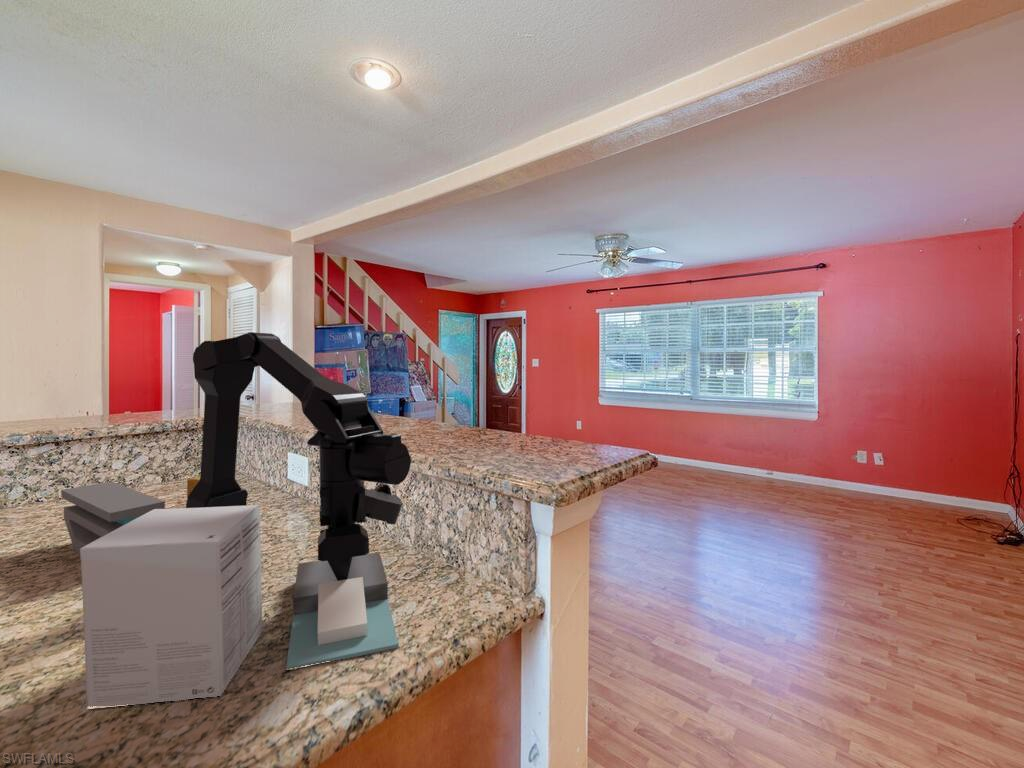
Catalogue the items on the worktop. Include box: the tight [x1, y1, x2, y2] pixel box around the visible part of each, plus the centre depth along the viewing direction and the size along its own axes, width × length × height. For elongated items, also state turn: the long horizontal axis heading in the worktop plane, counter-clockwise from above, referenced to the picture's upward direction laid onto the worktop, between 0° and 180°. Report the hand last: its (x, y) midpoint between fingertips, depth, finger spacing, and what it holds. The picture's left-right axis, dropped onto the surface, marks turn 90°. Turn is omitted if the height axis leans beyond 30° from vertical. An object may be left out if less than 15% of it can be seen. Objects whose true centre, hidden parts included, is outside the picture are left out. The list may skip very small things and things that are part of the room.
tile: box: [318, 577, 367, 645], centre depth 64 cm, size 6×9×2 cm, turn 21°
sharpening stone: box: [60, 480, 166, 556], centre depth 88 cm, size 25×8×11 cm, turn 58°
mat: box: [285, 598, 400, 670], centre depth 63 cm, size 13×12×1 cm
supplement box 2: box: [186, 475, 200, 498], centre depth 105 cm, size 3×3×10 cm
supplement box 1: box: [79, 504, 263, 707], centre depth 56 cm, size 13×13×18 cm
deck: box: [292, 551, 389, 615], centre depth 74 cm, size 13×12×3 cm
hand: (342, 582), depth 69 cm, fingers closed
